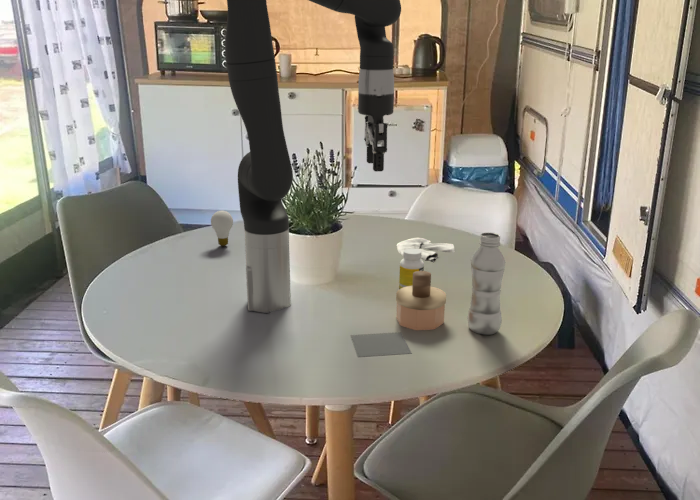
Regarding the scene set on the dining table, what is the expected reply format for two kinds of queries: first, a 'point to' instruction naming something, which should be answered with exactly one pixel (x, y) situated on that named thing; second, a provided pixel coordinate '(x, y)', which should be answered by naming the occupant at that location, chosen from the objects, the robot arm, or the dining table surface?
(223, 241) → the light bulb
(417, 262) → the supplement bottle
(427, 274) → the lid
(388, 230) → the dining table surface
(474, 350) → the dining table surface
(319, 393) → the dining table surface
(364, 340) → the mat
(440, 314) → the bowl
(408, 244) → the cloth
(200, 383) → the dining table surface
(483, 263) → the plastic bottle
